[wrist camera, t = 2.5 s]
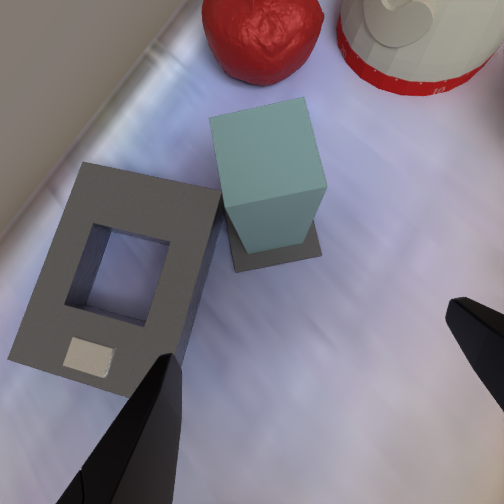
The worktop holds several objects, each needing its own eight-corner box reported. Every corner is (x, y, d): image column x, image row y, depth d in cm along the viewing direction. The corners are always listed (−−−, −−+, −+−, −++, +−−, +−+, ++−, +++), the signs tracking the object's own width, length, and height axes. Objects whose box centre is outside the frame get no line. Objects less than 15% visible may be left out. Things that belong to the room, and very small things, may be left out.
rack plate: (227, 202, 25) (221, 190, 22) (172, 396, 22) (158, 408, 19) (100, 175, 26) (81, 160, 23) (35, 354, 23) (4, 359, 21)
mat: (321, 255, 23) (321, 255, 23) (236, 272, 23) (235, 272, 23) (301, 176, 25) (302, 174, 24) (222, 193, 25) (221, 191, 24)
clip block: (302, 243, 23) (327, 186, 12) (248, 254, 23) (224, 207, 13) (290, 191, 24) (304, 96, 13) (238, 202, 24) (209, 117, 13)
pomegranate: (266, 122, 26) (261, 26, 17) (191, 61, 28) (149, -56, 19) (339, 47, 27) (371, -83, 18) (260, -8, 29) (253, -152, 19)
